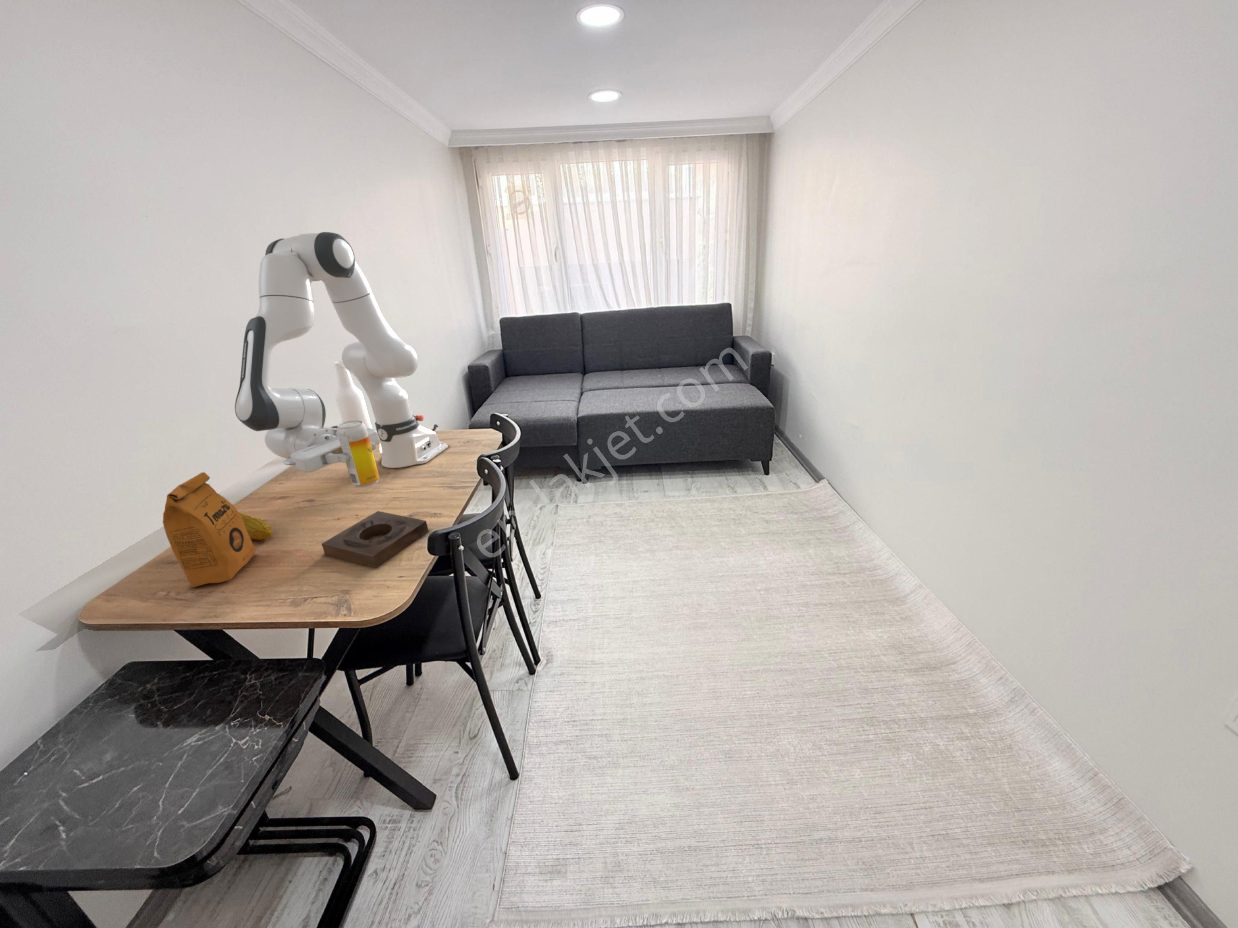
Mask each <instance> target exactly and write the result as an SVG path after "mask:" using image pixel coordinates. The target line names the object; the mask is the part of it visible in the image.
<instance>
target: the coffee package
mask: <svg viewBox="0 0 1238 928" xmlns="http://www.w3.org/2000/svg"><path fill="white" fill-rule="evenodd" d="M210 478H211V477H210V476H209V474H207V473H206V472H205V471H202V472H200V473H199V474H197V475H195V476H193V477H191V478H190V479H188V480H186V481H184V482H182V483H180V484H178V485H177V486H176V487H174V489H172V490H171V491H170V492H169V493H167V495H166V500H165V504H164V510H163V513H162V525H163V529H164V531H165V534H166V538H167V540H168V543H169V544H170V548H171V549H172V552H173V554H174V556H175V558H176V560H177V561H178V563H179V565H180V567H181V569H182V571H183V572H184V575H185V577H186V580H187V582H188V584H189V585H190V586H191V587H192V588H197V587H200V586H204V585H206V584H207V585H208V584H220V583H224V582H226V581H231V580H232V579H233V578H234V577H235V575H236V574H237V573H238V572H240V571H241V569H242V568H243V567H245V566H246V565H247V564H248V563H249V562H250V561H251V559H252V558H253V557H254V556H255V553H256V547H255V546H254V544H253V541H252V539H250V537H249V535H248V533H247V530H246V528H245V525H244V522H243V519H242V517H241V515H240V514H239V513H240V512H239V511H238V509H237V508H236V507H235V505H233V504H232V503H231V502H230V501H229V500H228V499H227V498H225V497H224V496H223V495H221V494H219V493H218V492H217V491H216V489H214V488H213V487H212V485H210V484H209V483H206V482H208V481H209V480H210Z"/></svg>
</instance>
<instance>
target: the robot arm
mask: <svg viewBox="0 0 1238 928" xmlns="http://www.w3.org/2000/svg"><path fill="white" fill-rule="evenodd" d="M264 254H265V255H264V256H263V257H262V258H261V261H260V263H259V274H258V294H259V295H258V297H259V306H258V310H257V314H256V315H255V316H254V317H252V318H250V319H249V321H248V322H247V323H246V327H245V331H244V337H243V346H242V353H241V355H242V356H241V367H240V378H239V387H238V391H237V394H236V398H235V402H234V413H235V415H236V418H237V419H238V421H240V423H242V424H243V425H244V426H245V427H247V428H248V429H250V430H251V431H254V432H262V431H263V432H264V431H266V433H265V436H264V443H265V446H266V448H267V449H268V450H269V451H270V452H271V453H273V454H274V455H276V456H278V457H281V458H283V459H284V460H283V464H284V465H286V466H293V468H294V469H295V470H297V471H300V472H303V473H314V472H316V471H319V470H321V469H323V468H327V467H328V466H330V465H333V464H339V463H342V464H343V463H344V464H346V462H347V461H350V458H349V457H350V456H349V454H347V453H343V451H342V448H341V444H340V441H339V437H338V434H337V428H338V427H337V426H338V425H333V426H328V427H326V426H325V424H326V417H327V416H326V415H327V411H326V406H325V404H324V401H323V400H322V398H321V397H320V396H319V394H318V393H317V392H316V391H314V390H312V389H309V388H276V387H275V388H274V387H270V385H269V378H270V377H269V375H270V365H271V364H270V363H271V354H272V351H273V350H274V348H275V347H276V346H277V345H279V344H281V343H283V342H287V341H290V340H294V339H297V338H300V337H302V336H305V334H307V333H308V332H310V331H311V329H313V326H314V324H315V319H316V313H315V312H316V311H315V301H314V293H313V288H312V287H313V286H312V282H319V281H321V282H322V283H323V284H324V287H325V290H326V292H327V294H328V298H329V299H330V301H331V304H332V306H333V308H334V310H335V312H336V314H337V316H338V318H339V321H340V323H341V325H342V327H343V328H344V330H346V331H347V332H348V333H349V334H351V335H353V337H355V338H356V339H357V340H358V341H355V342H352V343H349V344H347V345H346V346H344V348H343V350H342V353H341V361H342V362H343V364H344V366H345V368H346V369H347V370H348V371H349V373H350V374H352V375H353V376H354V377H355V378H356V379H357V381H358V382H359V384H360V385H361V387H362V389H363V390H364V392H365V394H366V396H367V398H368V400H369V403H370V407H371V408H372V409H371V410H372V412H373V416H374V420H375V422H374V426H375V428H372V429H371V428H367V432H368V436H369V440H370V443H371V447H372V451H373V452H374V451H375V450H377V446H378V445H379V452H380V453H381V454H380V455H381V459H380V461H381V462H380V464H381V466H382V467H385V468H388V469H389V468H390V469H392V468H393V469H397V468H399V469H400V468H406V467H411V466H414V465H422V464H426V463H428V462H430V461H431V460H432V459H434V458H435V457H436V456H438V455H439V454H441V453H442V452H443V451H445V450H446V449H448V448H449V446H448V443H446V442H443V441H440V439H439V436H438V434H437V433H436V430H437V428H438V427H439V425H438V424H436V423H435V424H433V428H432V429H430V428H427V427H425V426H423V425H422V424H420V423H419V422H423V421H424V415H422V414H416V415H414V414H413V411H412V409H411V408H412V407H411V402H410V399H409V394H408V393H407V392H406V391H405V389H404V388H402V387H401V386H400V385H399V384H398V383H397V382H396V380H395V379H402V378H407V377H411V376H412V375H413V374H414V373H415V372H416V371H417V368H418V366H419V365H418V364H419V360H418V355H417V352H416V351H415V349H414V348H413V347H412V346H411V345H409V344H407V343H406V342H404V341H403V340H402V339H401V338H400V337H399V336H398V334H396V332H395V331H394V330H393V329H392V327H391V326H390V325H389V323H388V322H387V320H386V319H385V317H384V315H383V314H382V312H381V308H380V307H379V304H378V303H377V300H376V297H375V295H374V293H373V291H372V289H371V286H370V284H369V282H368V280H367V278H366V276H365V274H364V273H363V271H362V269H361V267H360V266H359V265H358V263H357V261H356V256H355V252H354V250H353V248H352V246H351V244H350V243H349V242H348V240H347V239H346V238H344V237H343V236H342V235H341V234H339V233H336V232H331V231H330V232H329V231H322V232H309V233H308V232H307V233H299V234H298V235H294V236H289V237H286V238H279V239H276V240H274V241H272V242H270V243H269V244H268V245H267V247H266V250H265V253H264ZM376 445H377V446H376Z"/></svg>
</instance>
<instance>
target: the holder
mask: <svg viewBox="0 0 1238 928" xmlns="http://www.w3.org/2000/svg"><path fill="white" fill-rule="evenodd" d="M427 533H429V527H428V522H427V520H424V519H419V518H415V517H409V516H405V515H400V514H394V513H389V512H384V511H380V510H377V511H375V512H374V513H372V514H370V515H368V516H367V517H365V518H363V519H362V520H359V521H358V522H356V523H354V524H353V525H351V526H349V527H348V528H346V529H344V530H343V531H341V532H339V533H337V534H335V535H334V536H332V537H331V538H329V539H327V540H325V541H323V542H322V543H321V547H322V549H323V550H322V551H323V552H324V555H325V556H329V557H333V558H335V559H336V558H337V559H340V560H344V561H348V562H352V563H355V564H358V565H359V564H360V565H363V566H367V567H371V568H375V569H377V568H378V567H380V566H381V565H383V564H384V563H385V562H387V561H389V560H390V559H391V558H393V557H394V556H396V555H397V554H398V553H400V552H401V551H403V550H404V549H405V548H407V547H408V546H410V545H411V544H413V543H414V542H415V541H417V540H418V539H420V538H421V537H423V536H424V535H425V534H427ZM381 535H382V536H381ZM377 536H378V538H375V537H377ZM379 536H381V537H379ZM373 538H374V539H373Z"/></svg>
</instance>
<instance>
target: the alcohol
mask: <svg viewBox="0 0 1238 928" xmlns="http://www.w3.org/2000/svg"><path fill="white" fill-rule="evenodd" d="M333 365H334V368H335V372H336V377H337V382H338V389H337V392H336V394H335V400H336V404H337V407H338V411H339V413H340V418H341V421H342V423H344V422H348V421H355V420H359V421H363V423H364V424H365V425H366V428H371V429H373V426H372V423H371V419H370V416H369V412H368V408H367V404H366V401H365V396H364V394H363V392H362V390H361V389H359V388H358V387H357V386H356V385H355V384H354V381H353V379H352V376H351V372H350V371H348V370H347V369H346V368H345V366H344V364H343V362H342V360H337V361H334V362H333Z"/></svg>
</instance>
